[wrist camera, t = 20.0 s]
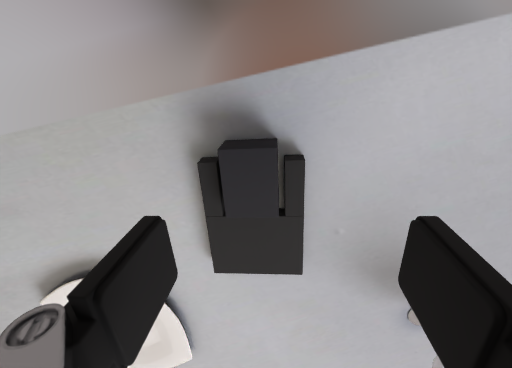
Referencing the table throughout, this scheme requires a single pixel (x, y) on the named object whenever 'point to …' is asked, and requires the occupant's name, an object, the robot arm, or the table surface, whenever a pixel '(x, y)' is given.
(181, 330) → the plate
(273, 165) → the black rectangular block
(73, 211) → the table surface
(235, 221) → the socket pad
